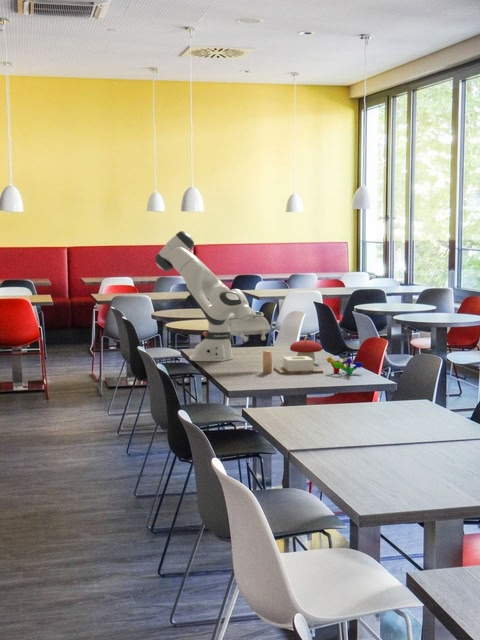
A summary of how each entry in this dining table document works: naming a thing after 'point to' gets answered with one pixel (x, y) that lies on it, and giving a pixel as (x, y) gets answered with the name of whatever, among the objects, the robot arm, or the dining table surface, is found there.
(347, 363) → the decorative model
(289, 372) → the base board
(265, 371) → the peg
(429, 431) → the dining table surface
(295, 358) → the socket block
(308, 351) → the mushroom
